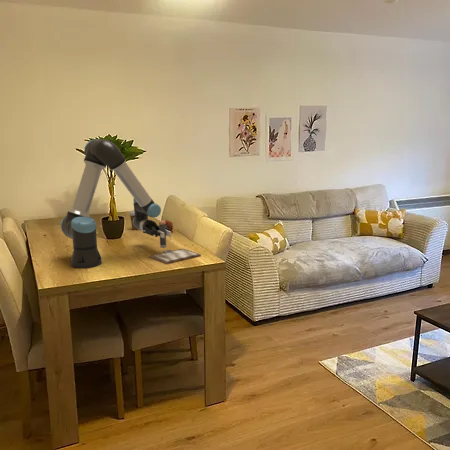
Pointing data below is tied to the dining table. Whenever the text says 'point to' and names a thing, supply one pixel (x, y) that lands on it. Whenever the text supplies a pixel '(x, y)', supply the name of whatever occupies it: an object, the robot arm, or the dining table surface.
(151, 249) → the dining table surface
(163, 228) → the marker
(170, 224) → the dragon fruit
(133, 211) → the disposable coffee cup
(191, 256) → the clipboard
